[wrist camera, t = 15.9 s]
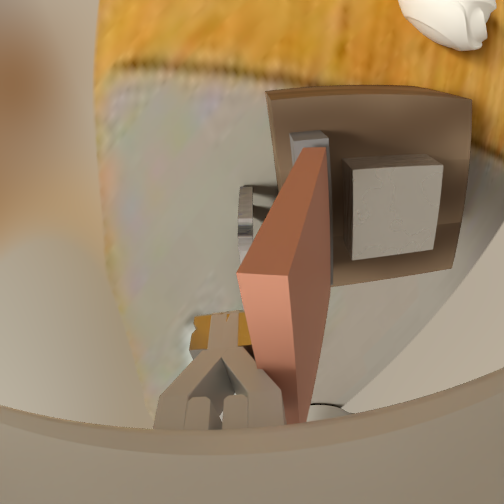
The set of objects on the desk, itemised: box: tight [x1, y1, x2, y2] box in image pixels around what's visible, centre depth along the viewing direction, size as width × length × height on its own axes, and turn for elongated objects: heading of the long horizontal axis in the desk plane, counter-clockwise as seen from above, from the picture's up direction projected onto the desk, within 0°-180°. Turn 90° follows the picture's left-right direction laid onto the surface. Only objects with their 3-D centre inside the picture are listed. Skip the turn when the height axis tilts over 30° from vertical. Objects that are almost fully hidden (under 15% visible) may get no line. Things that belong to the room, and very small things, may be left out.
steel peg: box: [342, 154, 443, 260], centre depth 19 cm, size 5×5×9 cm
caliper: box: [238, 187, 253, 310], centre depth 28 cm, size 20×1×6 cm, turn 1°
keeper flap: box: [236, 147, 330, 424], centre depth 12 cm, size 9×8×1 cm
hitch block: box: [265, 85, 472, 287], centre depth 20 cm, size 12×12×10 cm
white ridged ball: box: [398, 0, 496, 51], centre depth 13 cm, size 8×8×8 cm
